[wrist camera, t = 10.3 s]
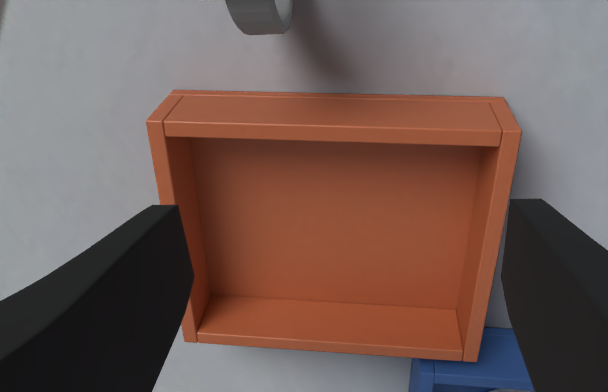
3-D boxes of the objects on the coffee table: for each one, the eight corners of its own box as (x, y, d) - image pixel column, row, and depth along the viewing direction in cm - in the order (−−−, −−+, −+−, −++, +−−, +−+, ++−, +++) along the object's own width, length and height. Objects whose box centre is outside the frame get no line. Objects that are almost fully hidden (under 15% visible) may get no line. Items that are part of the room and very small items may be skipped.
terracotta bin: (504, 96, 20) (522, 131, 17) (467, 312, 25) (477, 363, 23) (172, 89, 21) (144, 120, 19) (202, 296, 27) (183, 342, 24)
